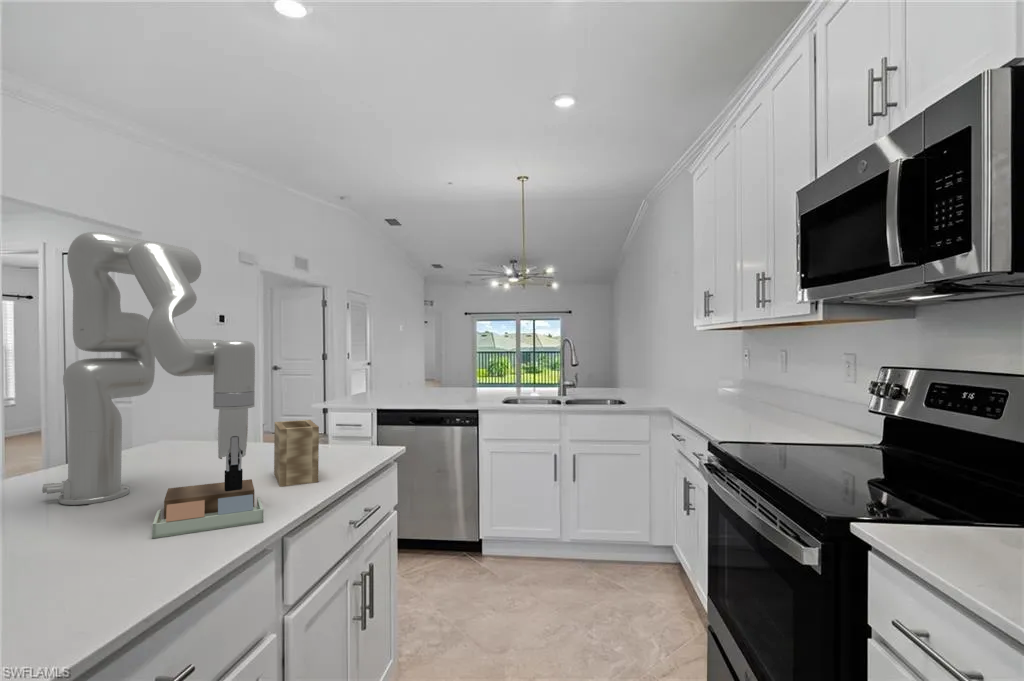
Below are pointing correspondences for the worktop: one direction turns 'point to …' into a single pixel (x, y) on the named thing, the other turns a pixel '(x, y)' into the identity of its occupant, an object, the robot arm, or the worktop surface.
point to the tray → (206, 522)
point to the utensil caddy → (296, 452)
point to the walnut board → (205, 494)
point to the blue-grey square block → (235, 504)
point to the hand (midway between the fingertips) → (233, 489)
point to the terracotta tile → (185, 510)
